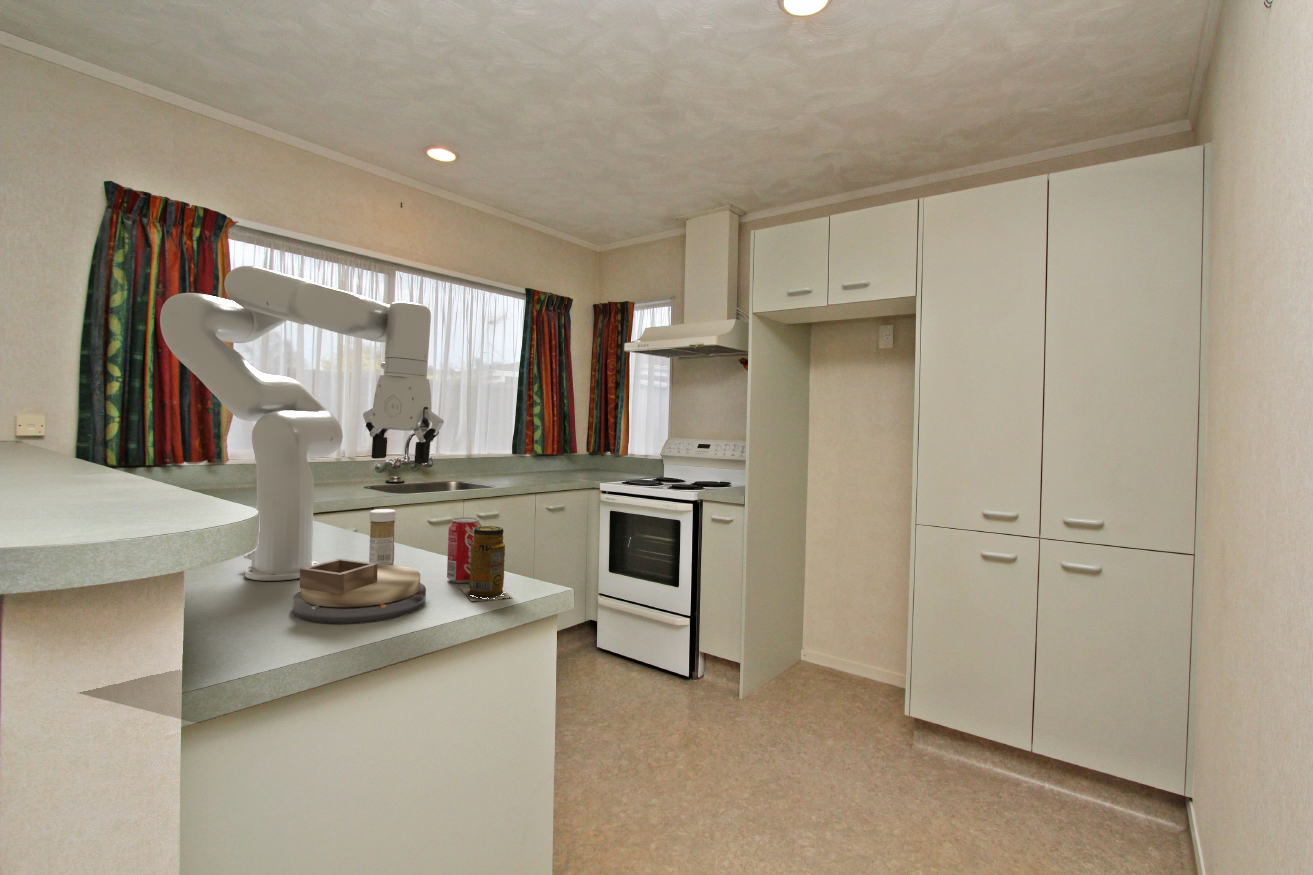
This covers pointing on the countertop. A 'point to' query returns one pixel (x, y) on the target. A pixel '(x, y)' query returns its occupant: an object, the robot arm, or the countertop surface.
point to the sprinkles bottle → (382, 536)
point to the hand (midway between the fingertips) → (399, 460)
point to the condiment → (487, 564)
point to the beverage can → (460, 548)
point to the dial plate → (358, 610)
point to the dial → (356, 583)
